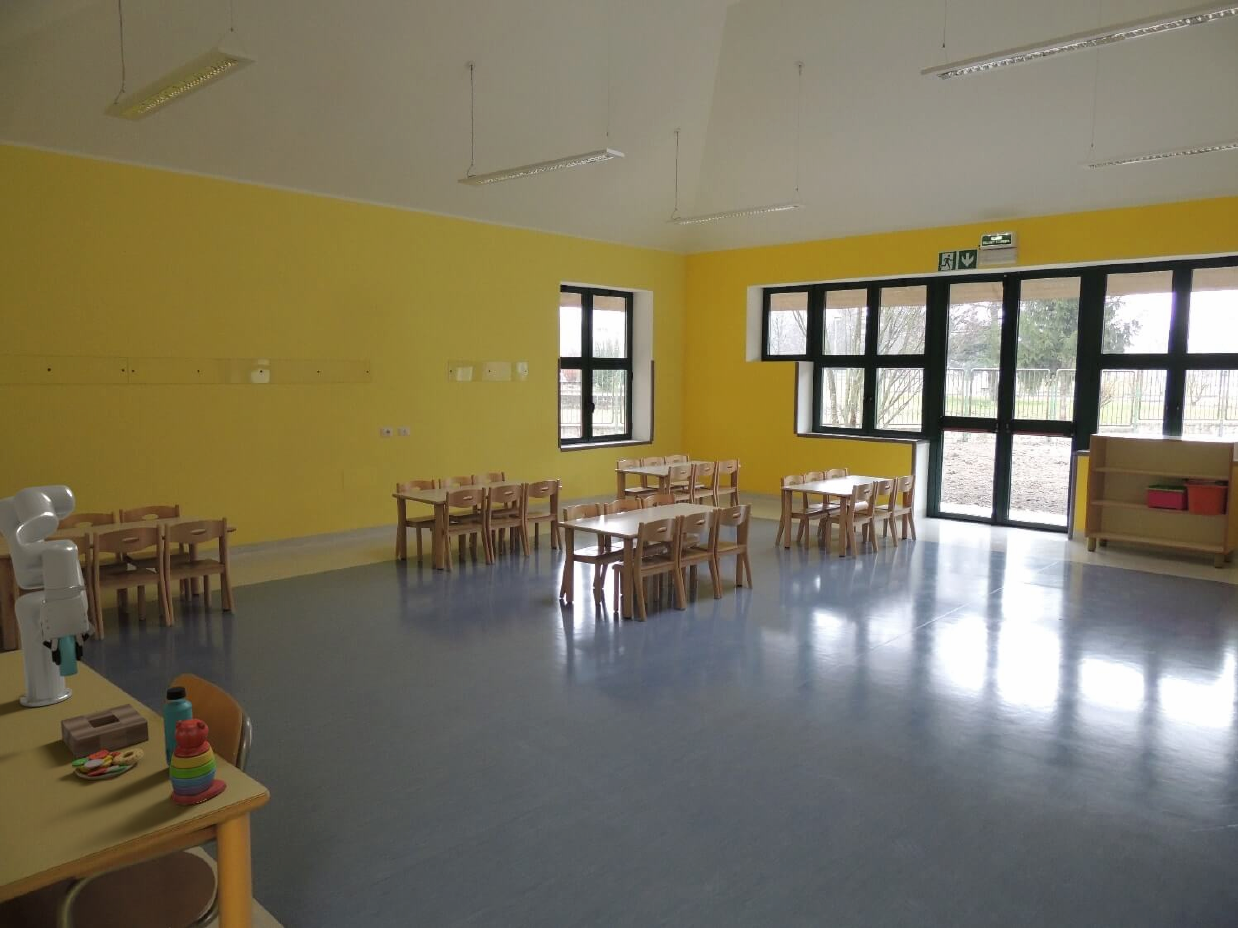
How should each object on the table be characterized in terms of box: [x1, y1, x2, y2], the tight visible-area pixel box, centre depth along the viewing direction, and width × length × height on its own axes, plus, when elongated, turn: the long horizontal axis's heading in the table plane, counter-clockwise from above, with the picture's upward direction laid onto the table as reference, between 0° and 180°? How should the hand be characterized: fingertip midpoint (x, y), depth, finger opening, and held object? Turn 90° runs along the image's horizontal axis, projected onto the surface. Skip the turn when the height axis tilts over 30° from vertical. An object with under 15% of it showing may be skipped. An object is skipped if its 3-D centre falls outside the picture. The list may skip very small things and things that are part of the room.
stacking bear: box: [168, 718, 227, 805], centre depth 196 cm, size 11×10×18 cm
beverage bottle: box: [162, 686, 193, 768], centre depth 209 cm, size 6×7×20 cm
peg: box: [57, 635, 79, 677], centre depth 226 cm, size 4×4×12 cm
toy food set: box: [71, 748, 145, 781], centre depth 210 cm, size 13×13×3 cm
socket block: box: [60, 703, 150, 760], centre depth 225 cm, size 16×16×5 cm
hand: (67, 661), depth 226 cm, fingers closed on peg, 4 cm apart
